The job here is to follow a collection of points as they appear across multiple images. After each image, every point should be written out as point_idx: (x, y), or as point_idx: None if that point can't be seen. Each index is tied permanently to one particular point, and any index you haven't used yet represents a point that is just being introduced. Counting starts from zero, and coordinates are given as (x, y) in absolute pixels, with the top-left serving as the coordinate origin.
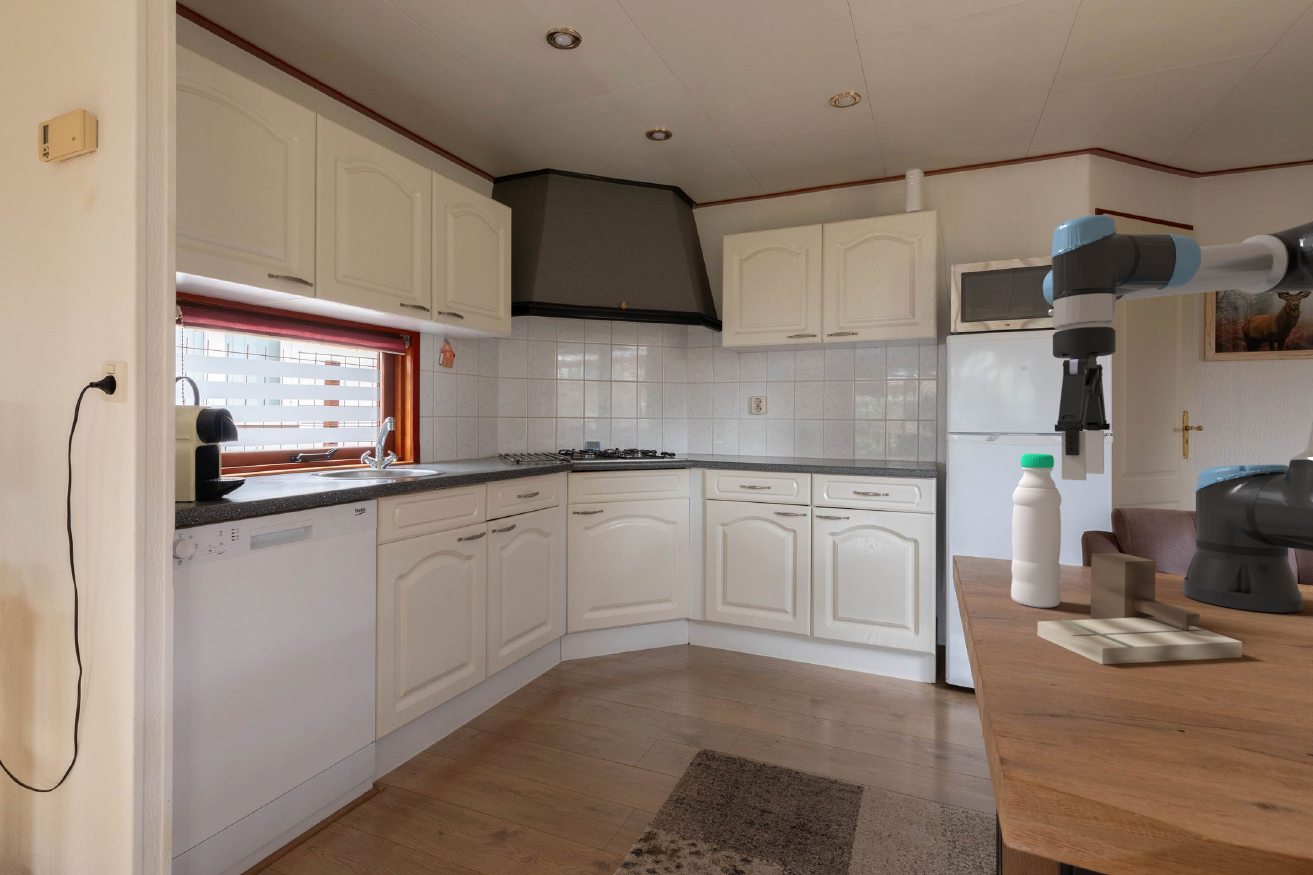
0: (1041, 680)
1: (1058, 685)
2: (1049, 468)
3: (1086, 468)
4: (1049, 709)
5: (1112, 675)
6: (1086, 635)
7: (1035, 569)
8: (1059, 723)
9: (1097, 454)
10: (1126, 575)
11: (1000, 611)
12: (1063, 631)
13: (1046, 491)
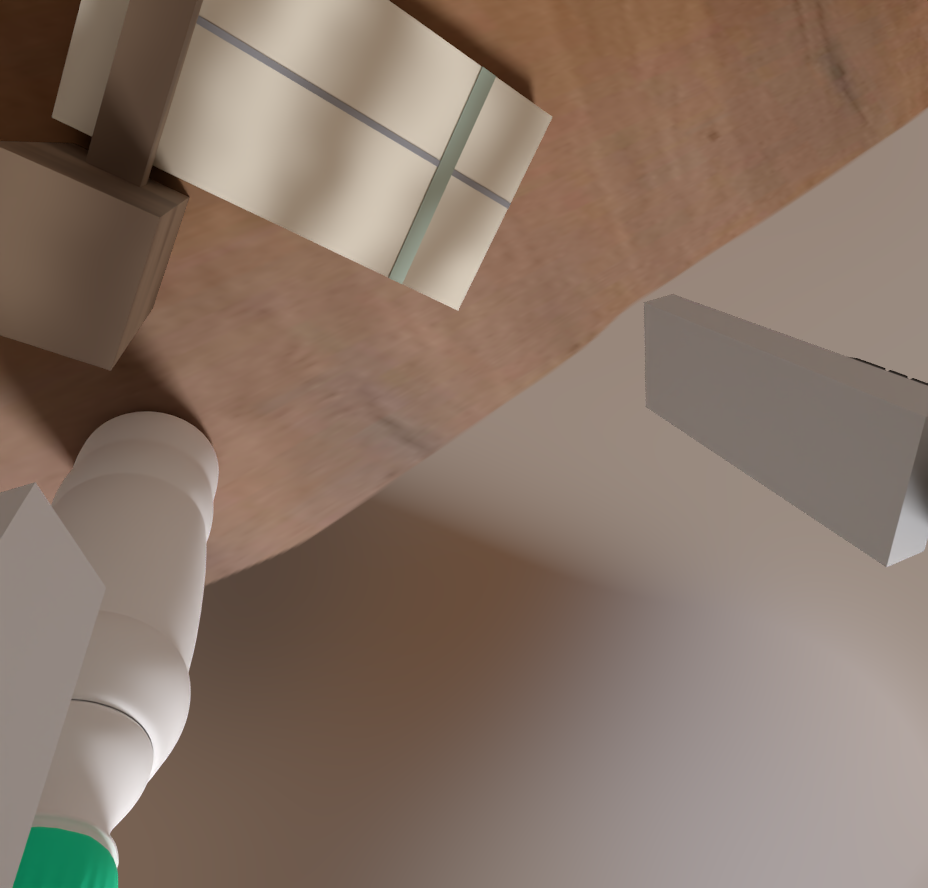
0: (706, 160)
1: (711, 127)
2: None
3: (85, 588)
4: (820, 88)
5: (589, 75)
6: (480, 185)
7: (198, 488)
8: (863, 52)
9: (4, 614)
10: (159, 209)
11: (327, 453)
12: (489, 235)
13: (109, 680)
